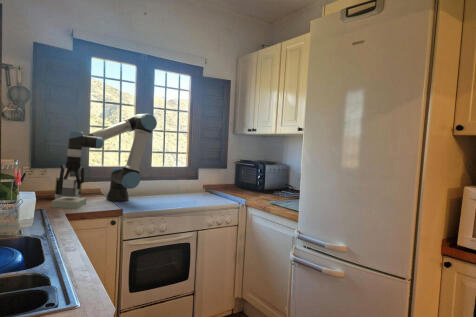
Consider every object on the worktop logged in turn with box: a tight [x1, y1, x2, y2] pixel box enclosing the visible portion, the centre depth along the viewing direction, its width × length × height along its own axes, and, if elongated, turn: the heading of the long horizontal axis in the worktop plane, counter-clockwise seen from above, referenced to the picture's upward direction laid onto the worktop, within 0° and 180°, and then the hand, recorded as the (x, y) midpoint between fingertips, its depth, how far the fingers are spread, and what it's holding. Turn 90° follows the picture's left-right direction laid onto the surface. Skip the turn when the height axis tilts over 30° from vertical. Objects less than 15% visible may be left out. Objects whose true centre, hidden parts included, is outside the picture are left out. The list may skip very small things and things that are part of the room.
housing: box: [62, 178, 79, 197], centre depth 184 cm, size 12×6×10 cm, turn 10°
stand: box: [50, 197, 87, 210], centre depth 183 cm, size 14×16×4 cm
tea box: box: [54, 175, 83, 200], centre depth 205 cm, size 15×10×15 cm, turn 123°
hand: (70, 193), depth 183 cm, fingers closed on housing, 6 cm apart
